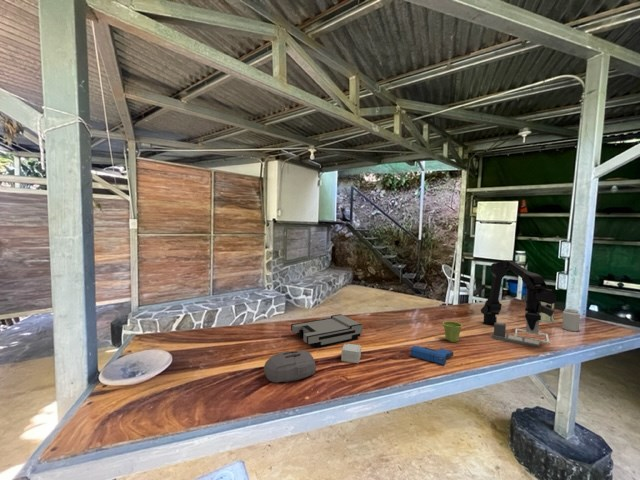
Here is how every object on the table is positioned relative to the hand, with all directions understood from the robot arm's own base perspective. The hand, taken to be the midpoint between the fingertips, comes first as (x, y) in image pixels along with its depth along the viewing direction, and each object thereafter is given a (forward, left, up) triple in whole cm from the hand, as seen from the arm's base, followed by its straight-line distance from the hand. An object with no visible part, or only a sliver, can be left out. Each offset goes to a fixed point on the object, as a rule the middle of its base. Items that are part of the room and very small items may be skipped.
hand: (532, 328), depth 143 cm
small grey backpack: (-78, -101, -8) cm, 127 cm away
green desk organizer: (+7, +56, -8) cm, 57 cm away
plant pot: (-34, -21, -8) cm, 41 cm away
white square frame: (0, +13, -8) cm, 15 cm away
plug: (0, 0, -1) cm, 1 cm away
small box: (-65, -73, -8) cm, 98 cm away
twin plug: (-14, 0, -6) cm, 15 cm away
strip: (-7, 0, -8) cm, 10 cm away
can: (+19, +42, -8) cm, 47 cm away
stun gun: (-37, -48, -9) cm, 61 cm away
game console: (-88, -61, -8) cm, 107 cm away
